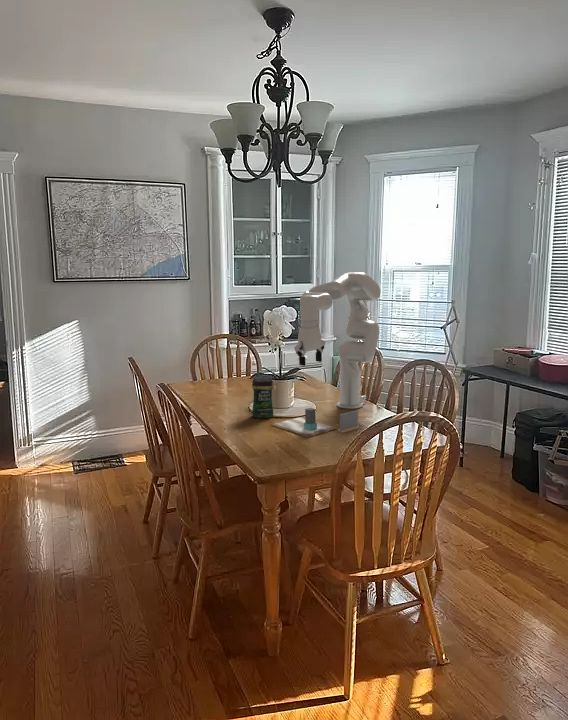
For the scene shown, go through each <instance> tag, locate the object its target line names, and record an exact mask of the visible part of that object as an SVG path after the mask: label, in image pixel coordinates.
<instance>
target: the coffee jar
mask: <svg viewBox="0 0 568 720" xmlns="http://www.w3.org/2000/svg"><path fill="white" fill-rule="evenodd" d="M251 388H252V389H253V390H252V391H253V401H252V410H251V411H252V412H251V413H252V417H253V418H256V419H270V418H272V417H274V405H273V388H274V382H273V378H272V376H253V378H252V384H251Z"/></svg>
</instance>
